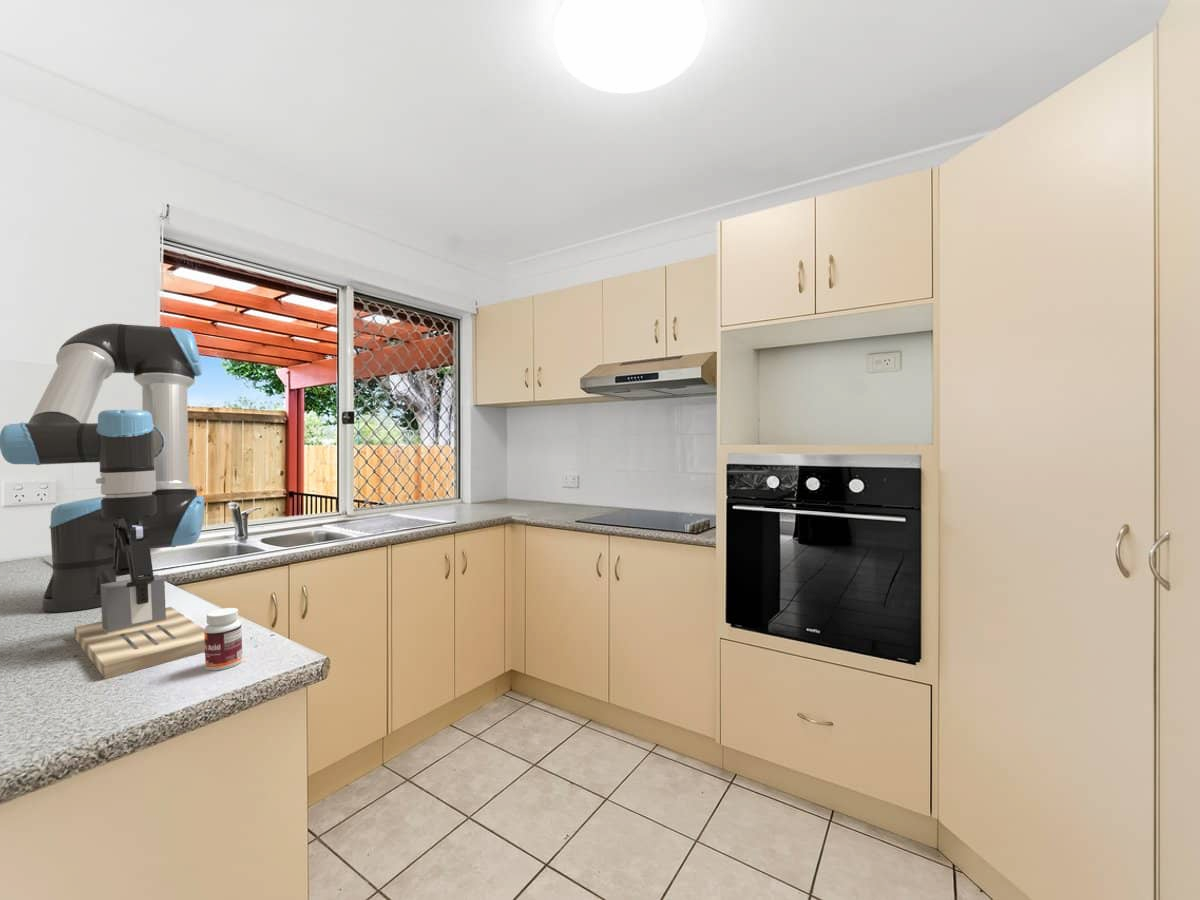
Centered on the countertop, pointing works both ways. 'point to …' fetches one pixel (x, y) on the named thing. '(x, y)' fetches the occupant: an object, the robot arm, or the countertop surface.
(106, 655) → the board
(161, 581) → the block
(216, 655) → the pill bottle
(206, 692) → the countertop surface
